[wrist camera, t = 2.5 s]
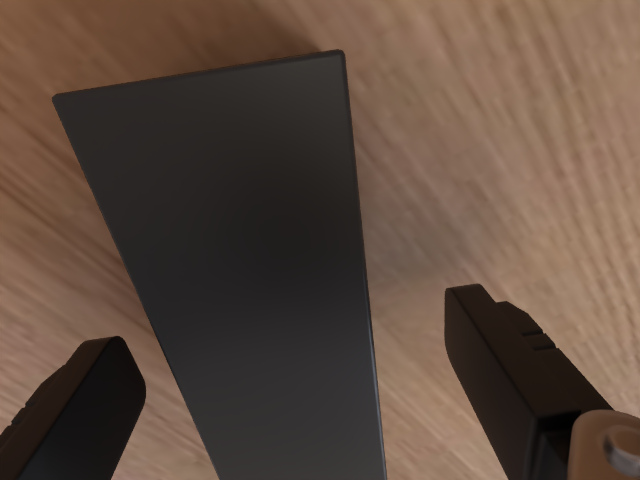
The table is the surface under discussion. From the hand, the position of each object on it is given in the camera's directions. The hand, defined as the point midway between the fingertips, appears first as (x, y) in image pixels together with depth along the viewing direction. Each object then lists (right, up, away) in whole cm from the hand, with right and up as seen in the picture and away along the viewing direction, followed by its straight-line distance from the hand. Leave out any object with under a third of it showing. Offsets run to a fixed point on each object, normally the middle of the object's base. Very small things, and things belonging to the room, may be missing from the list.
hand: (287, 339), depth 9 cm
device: (0, +1, +2) cm, 3 cm away
